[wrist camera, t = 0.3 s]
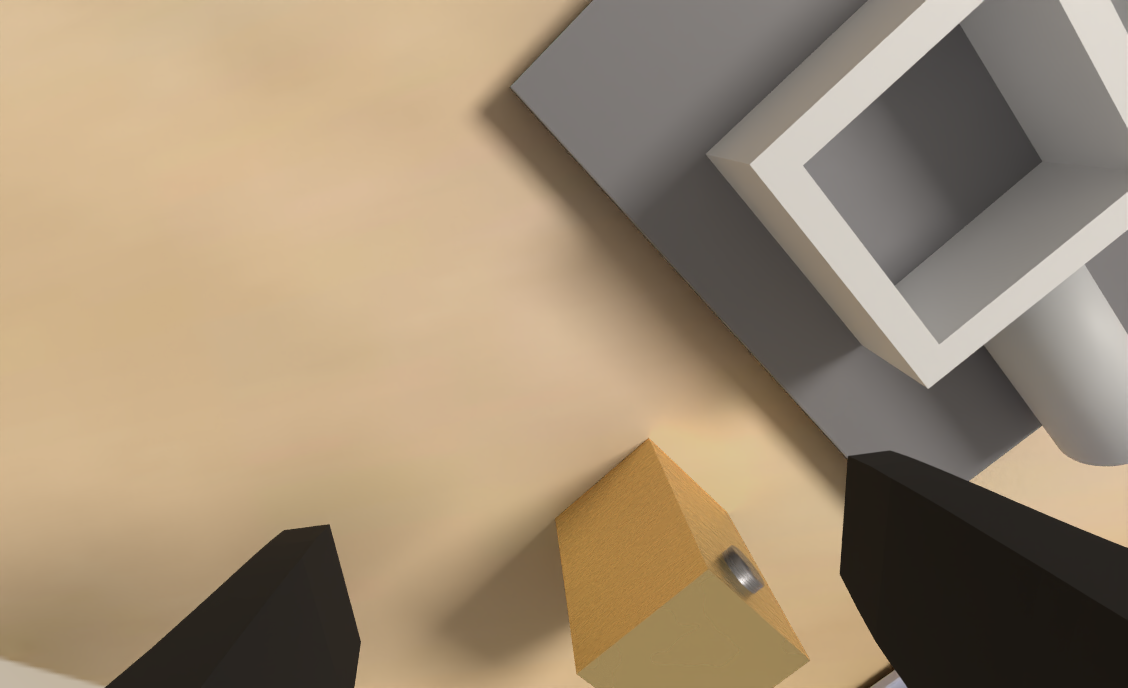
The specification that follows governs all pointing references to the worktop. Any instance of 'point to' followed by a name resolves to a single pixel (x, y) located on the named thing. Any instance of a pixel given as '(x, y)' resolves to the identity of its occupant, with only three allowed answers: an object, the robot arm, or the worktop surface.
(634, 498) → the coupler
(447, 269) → the worktop surface
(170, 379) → the worktop surface
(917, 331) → the shaft board
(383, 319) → the worktop surface
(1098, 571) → the robot arm
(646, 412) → the worktop surface
